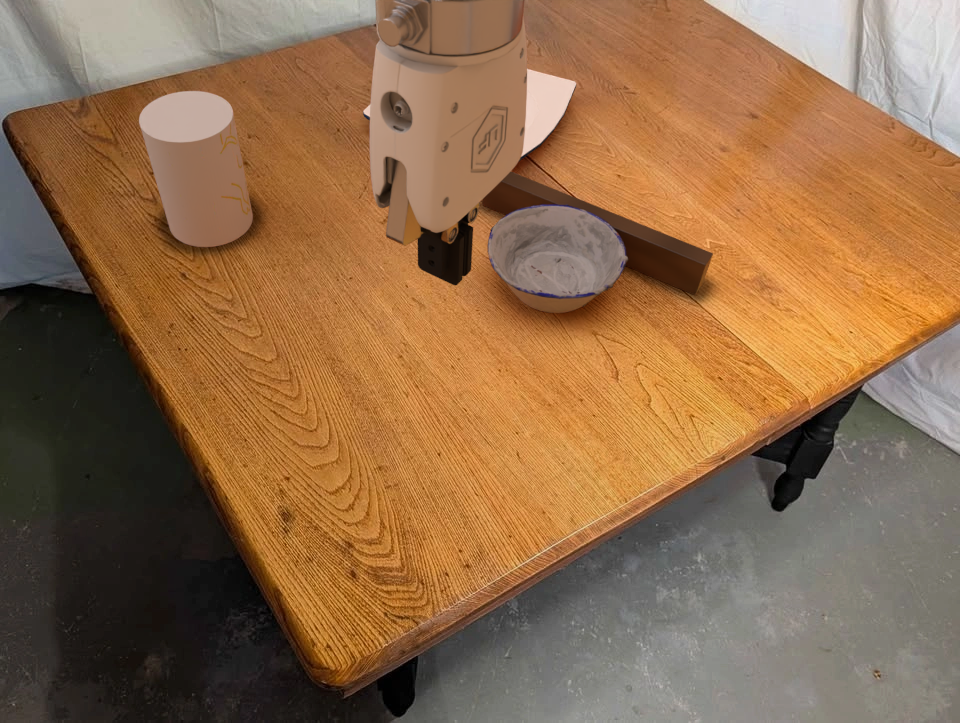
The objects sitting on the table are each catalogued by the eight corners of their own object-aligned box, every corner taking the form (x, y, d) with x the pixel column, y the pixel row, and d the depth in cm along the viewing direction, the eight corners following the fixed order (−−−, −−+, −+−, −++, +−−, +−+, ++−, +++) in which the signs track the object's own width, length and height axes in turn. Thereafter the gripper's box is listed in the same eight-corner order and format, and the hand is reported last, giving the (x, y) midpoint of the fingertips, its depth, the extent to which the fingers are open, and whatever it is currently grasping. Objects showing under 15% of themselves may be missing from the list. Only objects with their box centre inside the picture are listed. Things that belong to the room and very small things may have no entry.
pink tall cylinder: (256, 240, 84) (236, 136, 75) (170, 252, 82) (139, 147, 73) (248, 190, 89) (229, 87, 80) (167, 199, 87) (138, 95, 78)
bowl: (601, 236, 87) (609, 198, 83) (633, 327, 79) (643, 290, 75) (476, 242, 85) (478, 204, 81) (495, 336, 77) (498, 299, 73)
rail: (702, 283, 83) (713, 253, 80) (695, 295, 82) (705, 265, 79) (491, 195, 90) (494, 164, 87) (482, 205, 89) (484, 173, 86)
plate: (584, 100, 103) (587, 80, 101) (514, 191, 91) (517, 170, 89) (436, 55, 108) (436, 35, 106) (351, 135, 96) (349, 114, 94)
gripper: (427, 90, 37) (427, 364, 51) (583, -30, 46) (547, 232, 60) (294, 38, 40) (328, 313, 54) (467, -66, 48) (458, 194, 62)
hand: (444, 270), depth 57 cm, fingers closed
